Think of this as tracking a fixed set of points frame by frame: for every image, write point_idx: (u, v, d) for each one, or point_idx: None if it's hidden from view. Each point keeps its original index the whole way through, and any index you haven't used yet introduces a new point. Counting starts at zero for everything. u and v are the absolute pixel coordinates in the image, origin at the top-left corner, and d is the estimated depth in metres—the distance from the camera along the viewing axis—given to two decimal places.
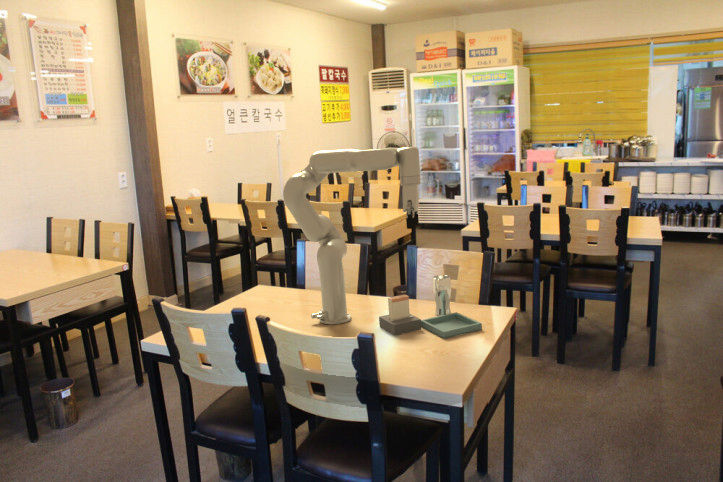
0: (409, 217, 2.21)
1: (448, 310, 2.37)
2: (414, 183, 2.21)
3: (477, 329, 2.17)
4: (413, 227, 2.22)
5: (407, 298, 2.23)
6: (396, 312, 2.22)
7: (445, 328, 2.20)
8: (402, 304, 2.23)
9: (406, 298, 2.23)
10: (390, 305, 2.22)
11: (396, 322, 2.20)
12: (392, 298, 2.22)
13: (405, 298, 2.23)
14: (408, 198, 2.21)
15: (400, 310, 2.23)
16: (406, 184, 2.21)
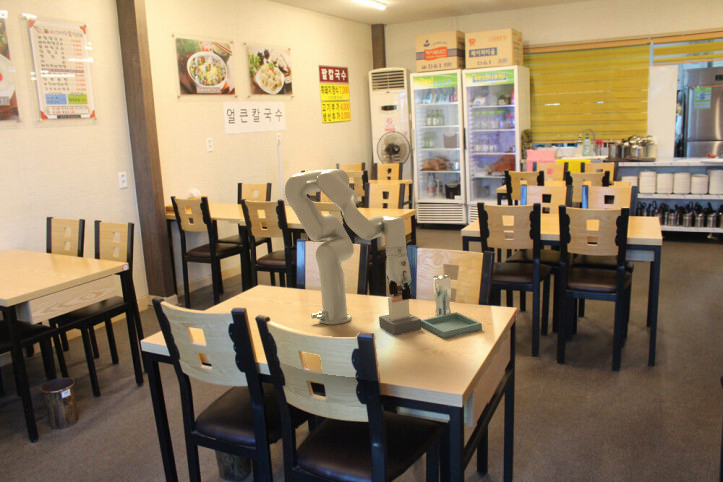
0: None
1: (448, 310, 2.37)
2: None
3: (477, 329, 2.17)
4: None
5: None
6: (396, 312, 2.22)
7: (445, 328, 2.20)
8: (402, 304, 2.23)
9: None
10: (390, 305, 2.22)
11: (396, 322, 2.20)
12: (392, 298, 2.22)
13: None
14: None
15: (400, 310, 2.23)
16: None
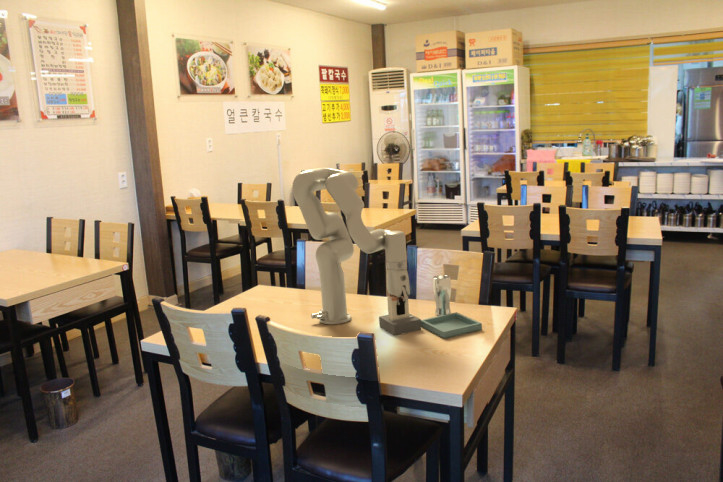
0: None
1: (448, 310, 2.37)
2: None
3: (477, 329, 2.17)
4: None
5: None
6: (395, 311, 2.22)
7: (445, 328, 2.20)
8: None
9: None
10: (389, 303, 2.22)
11: (396, 322, 2.20)
12: (391, 296, 2.22)
13: None
14: None
15: None
16: None
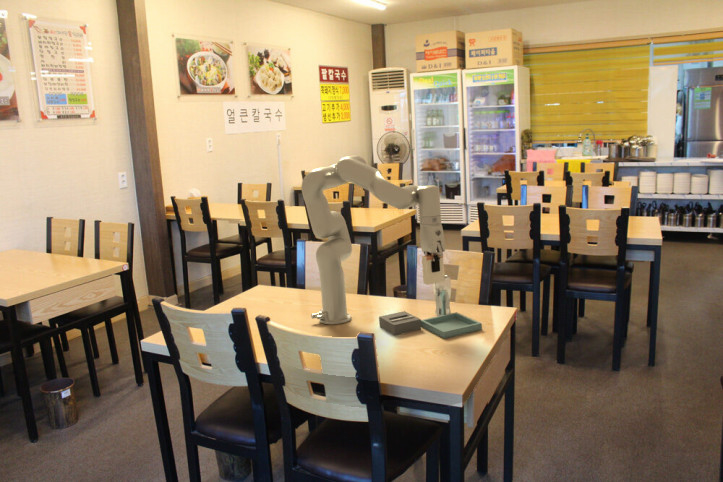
0: None
1: (448, 310, 2.37)
2: None
3: (477, 329, 2.17)
4: None
5: (441, 256, 2.18)
6: (431, 271, 2.16)
7: (445, 328, 2.20)
8: None
9: None
10: (424, 263, 2.17)
11: (396, 322, 2.20)
12: (426, 256, 2.16)
13: None
14: None
15: None
16: None
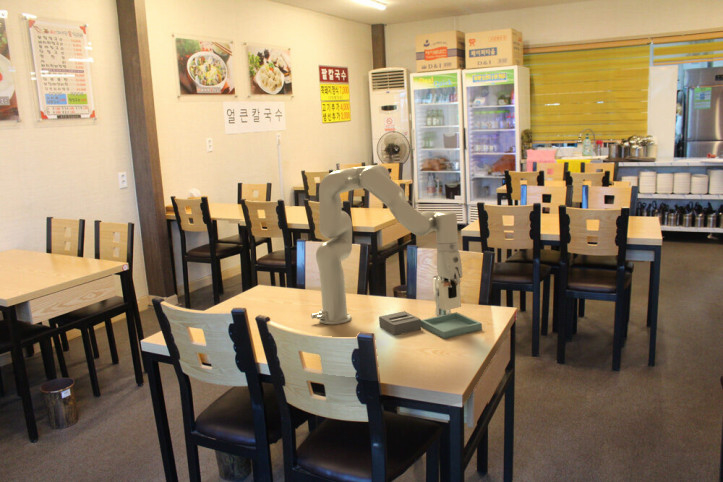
0: None
1: (448, 310, 2.37)
2: None
3: (477, 329, 2.17)
4: None
5: None
6: (447, 297, 2.17)
7: (445, 328, 2.20)
8: None
9: None
10: (441, 289, 2.17)
11: (396, 322, 2.20)
12: (443, 282, 2.17)
13: None
14: None
15: None
16: None
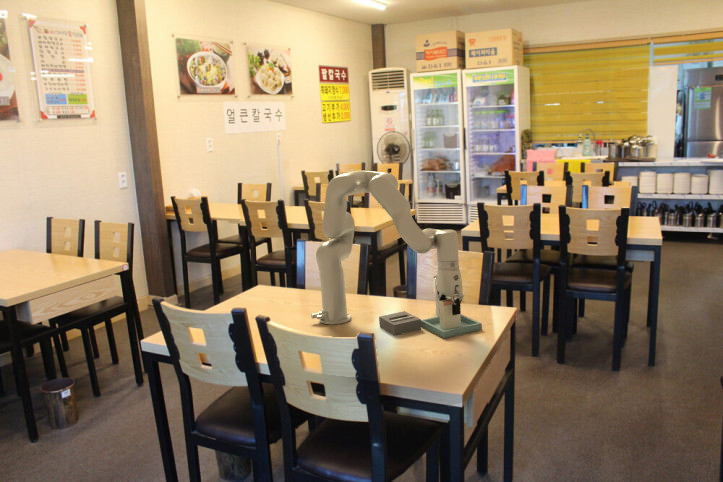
0: None
1: None
2: None
3: (477, 329, 2.17)
4: None
5: None
6: (447, 316, 2.19)
7: None
8: None
9: None
10: (441, 308, 2.19)
11: (396, 322, 2.20)
12: (443, 301, 2.18)
13: None
14: None
15: (451, 314, 2.19)
16: None
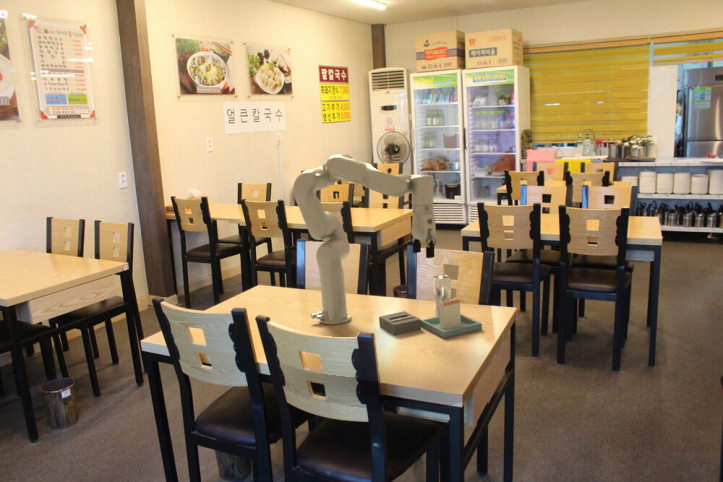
0: None
1: None
2: None
3: (477, 329, 2.17)
4: None
5: (458, 301, 2.20)
6: (447, 316, 2.19)
7: None
8: (454, 307, 2.19)
9: (457, 301, 2.20)
10: (441, 308, 2.19)
11: (396, 322, 2.20)
12: (443, 301, 2.18)
13: (456, 301, 2.19)
14: None
15: (451, 314, 2.19)
16: None
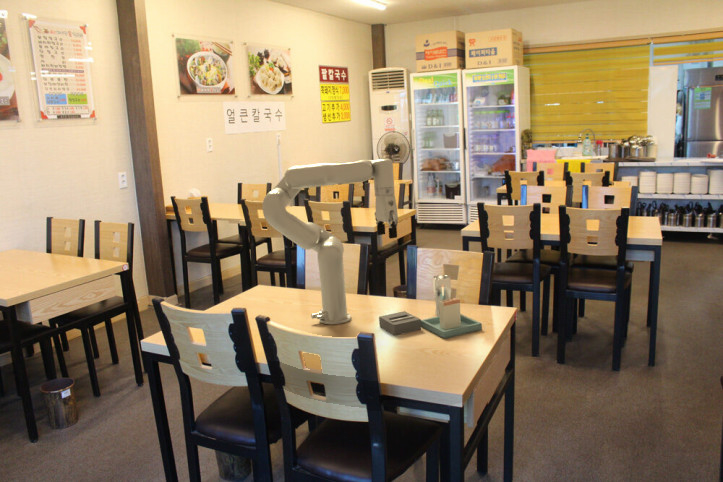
0: None
1: None
2: None
3: (477, 329, 2.17)
4: None
5: (458, 301, 2.20)
6: (447, 316, 2.19)
7: None
8: (454, 307, 2.19)
9: (457, 301, 2.20)
10: (441, 308, 2.19)
11: (396, 322, 2.20)
12: (443, 301, 2.18)
13: (456, 301, 2.19)
14: None
15: (451, 314, 2.19)
16: None
